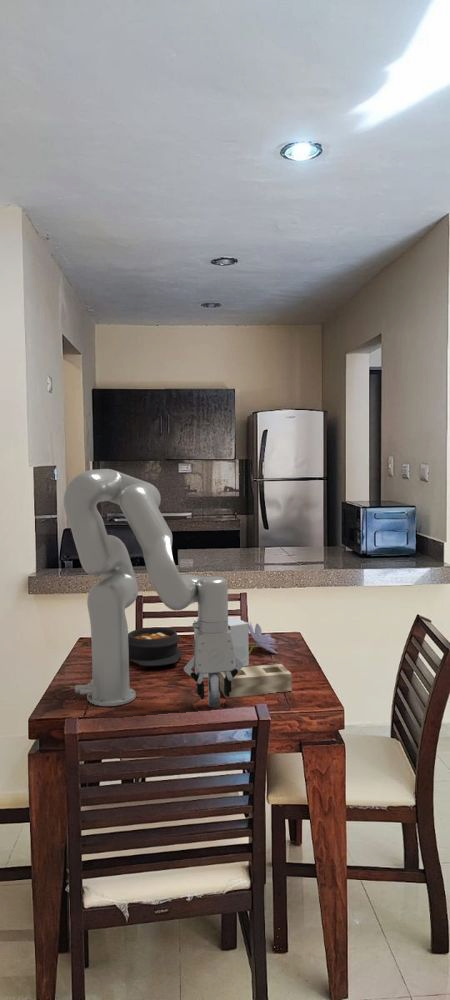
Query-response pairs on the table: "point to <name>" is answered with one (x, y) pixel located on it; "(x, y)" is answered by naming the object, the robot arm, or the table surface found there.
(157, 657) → the casserole
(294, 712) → the table surface
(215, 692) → the peg
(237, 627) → the small box
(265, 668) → the hole block
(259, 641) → the water lily
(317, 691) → the table surface
